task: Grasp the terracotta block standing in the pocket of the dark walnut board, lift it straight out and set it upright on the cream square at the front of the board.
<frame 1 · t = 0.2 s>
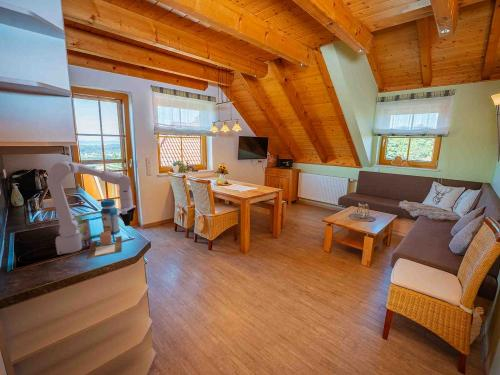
hand: (129, 223, 127), 10 cm above the table, tool pointing down, fingers open, 7 cm apart
cream square: (105, 250, 115), resting on walnut pocket board
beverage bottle: (112, 234, 139), on the table
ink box: (82, 241, 130), on the table
walnut pocket board: (106, 248, 120), on the table
terracotta block: (106, 244, 125), resting in walnut pocket board
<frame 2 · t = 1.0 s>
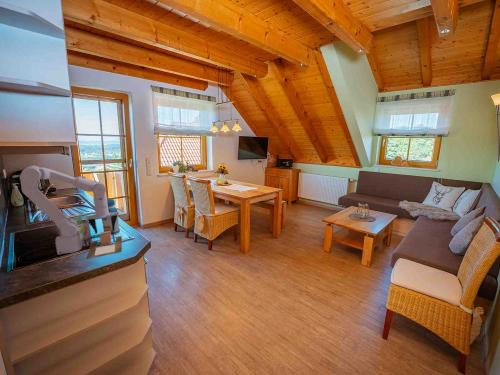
hand: (105, 231, 124), 7 cm above the table, tool pointing down, fingers open, 7 cm apart
nothing on the table moved.
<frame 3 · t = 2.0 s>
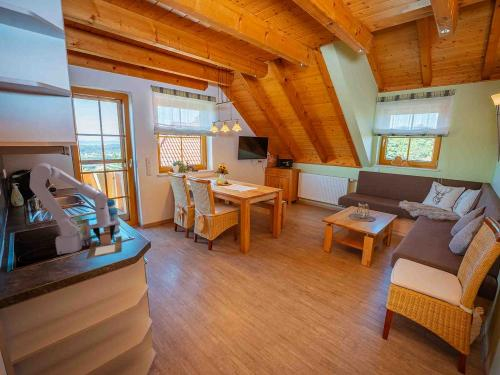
hand: (106, 240, 125), 2 cm above the table, tool pointing down, fingers closed on terracotta block, 4 cm apart
terracotta block: (106, 244, 125), resting in walnut pocket board, touching gripper
everything else where it was.
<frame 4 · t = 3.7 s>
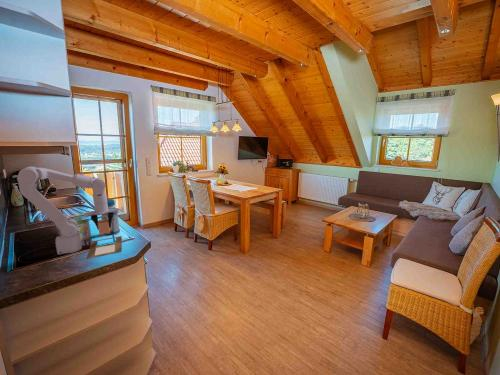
hand: (104, 228, 123), 9 cm above the table, tool pointing down, fingers closed on terracotta block, 4 cm apart
terracotta block: (104, 231, 123), point 7 cm above the table, touching gripper
everything else where it was.
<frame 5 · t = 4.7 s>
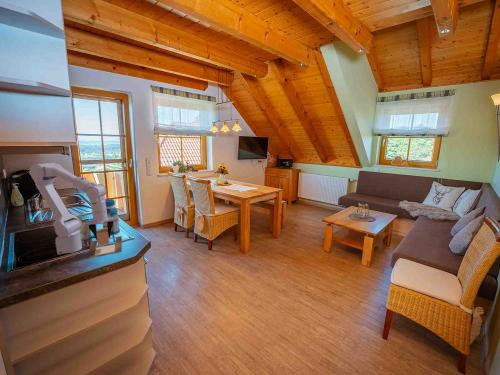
hand: (103, 238, 114), 7 cm above the table, tool pointing down, fingers closed on terracotta block, 4 cm apart
terracotta block: (104, 242, 115), point 5 cm above the table, touching gripper
everything else where it was.
when the fingers open (5 cm above the table, at t = 5.5 s): terracotta block drops 1 cm, resting on cream square.
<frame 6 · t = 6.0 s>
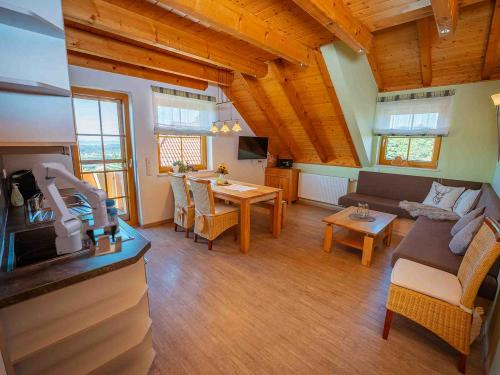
hand: (104, 242, 114), 5 cm above the table, tool pointing down, fingers open, 7 cm apart
terracotta block: (105, 249, 115), point 1 cm above the table, touching cream square
everything else where it was.
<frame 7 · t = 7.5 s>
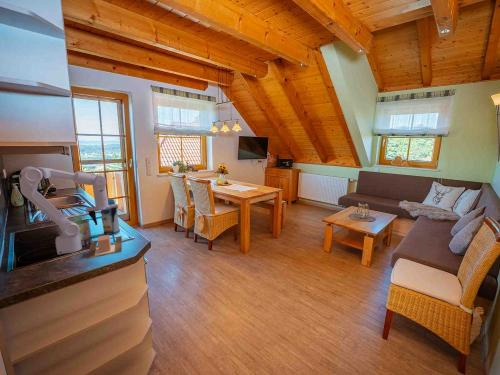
hand: (105, 223, 126), 10 cm above the table, tool pointing down, fingers open, 7 cm apart
nothing on the table moved.
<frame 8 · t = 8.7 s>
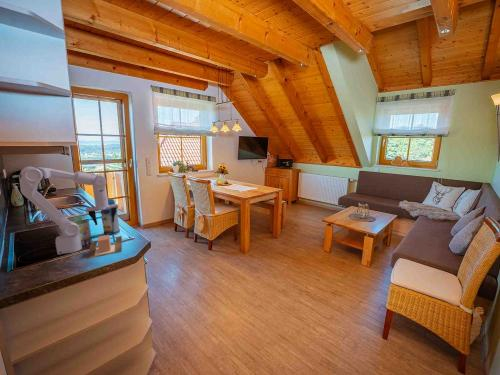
hand: (105, 223, 126), 10 cm above the table, tool pointing down, fingers open, 7 cm apart
nothing on the table moved.
at the end: terracotta block 0.3 cm off-centre on the cream square, point 0.3 cm above the cream square's base; terracotta block tilted 0°; the gripper is holding nothing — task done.
